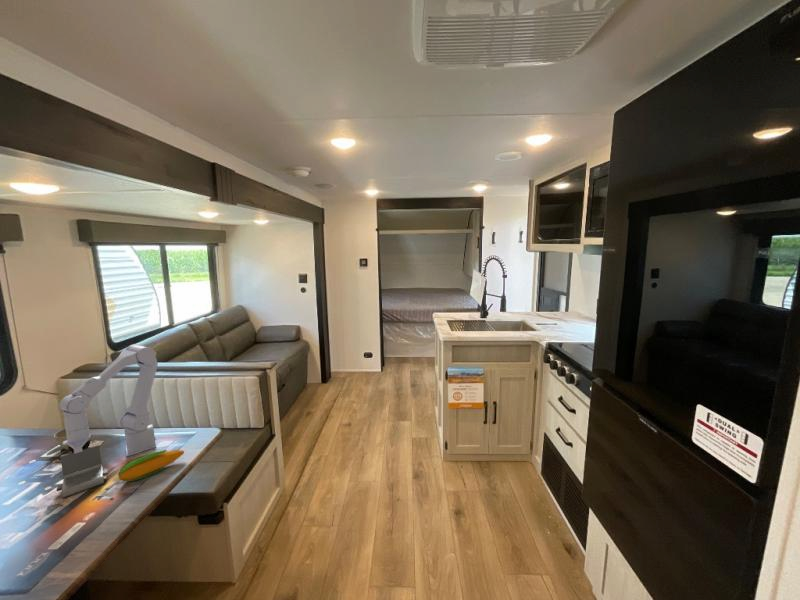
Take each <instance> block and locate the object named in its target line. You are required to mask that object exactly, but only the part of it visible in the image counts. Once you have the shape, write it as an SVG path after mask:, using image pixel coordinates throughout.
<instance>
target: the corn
mask: <svg viewBox="0 0 800 600" xmlns="http://www.w3.org/2000/svg"><path fill="white" fill-rule="evenodd" d="M184 454H185V450H180V449H174V450H169V451H168V450H167V449H165V450H158V451H155V452H153V453H149V454H146V455H142V456H140V457H136V458H134V459H132V460H130V461H129V462H127V463H126V464H124V465H123V467H121V468H120V470H119V472H118V474H117V475H118V479H119V480H120V481H122V482H130V481H131V482H133V481H134V482H135V481H137V480H141V479H144V478H146V477H149V476H151V475H153V474H156V473H158V472H160V471H163V470H165V469H166V467H167V466H168V465H172V464H173V462H175V461H176V460H178V459H179V458H180V457H181V456H183V455H184Z"/></svg>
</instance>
